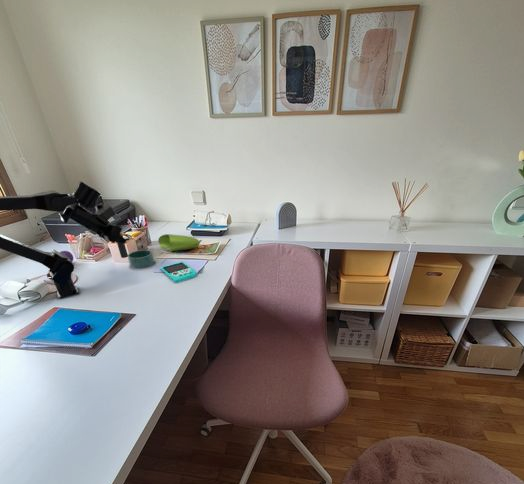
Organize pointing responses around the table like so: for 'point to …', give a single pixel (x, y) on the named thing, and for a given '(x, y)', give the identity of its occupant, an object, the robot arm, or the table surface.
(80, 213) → the robot arm
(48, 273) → the kendama
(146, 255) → the pen pot
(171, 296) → the table surface
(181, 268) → the handheld game console
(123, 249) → the marker
